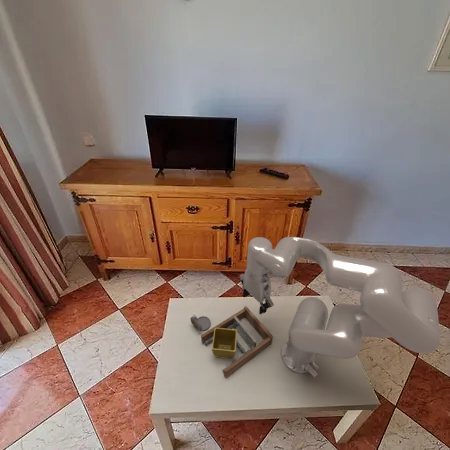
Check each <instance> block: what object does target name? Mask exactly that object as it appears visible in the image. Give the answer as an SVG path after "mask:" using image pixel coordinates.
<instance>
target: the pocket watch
mask: <svg viewBox="0 0 450 450" xmlns="http://www.w3.org/2000/svg"><path fill="white" fill-rule="evenodd" d="M189 320H190V322H191V325H192V326H193V328H194V329H195V330H196V331H198V332H203V331H206V330H207V331H208V329H210V328H211V324H212V323H211V318H209V317H208V316H204V315H203V316H199V317H197V316H196V314H193V315H192V316H191V317H190V319H189Z"/></svg>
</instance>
